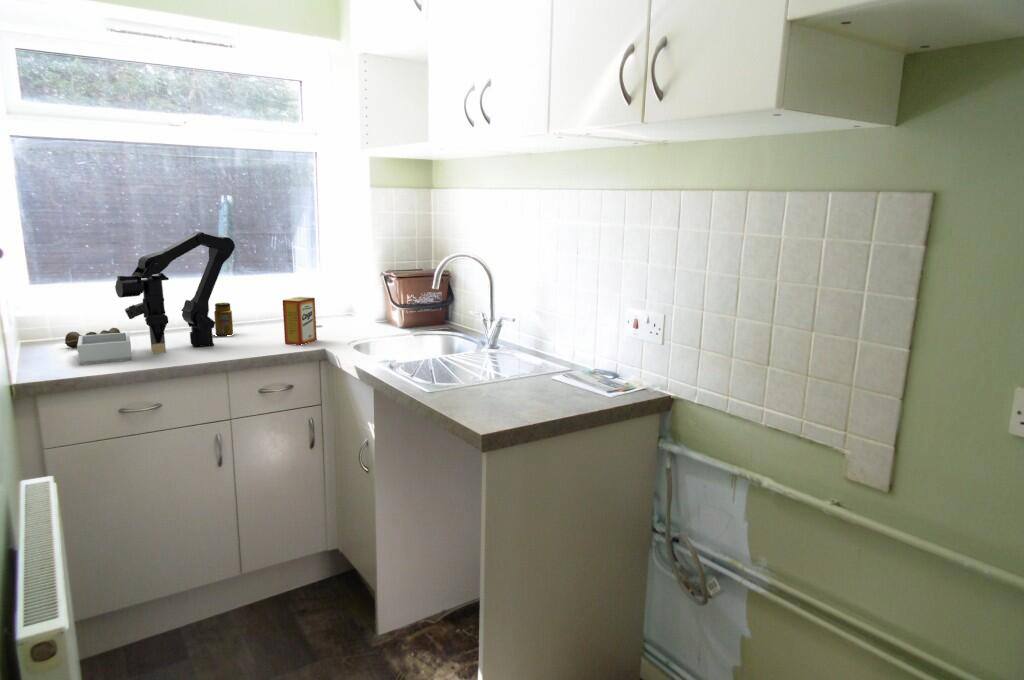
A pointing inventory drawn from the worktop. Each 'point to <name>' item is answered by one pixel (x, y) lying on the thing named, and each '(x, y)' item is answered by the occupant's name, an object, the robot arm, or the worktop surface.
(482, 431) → the worktop surface
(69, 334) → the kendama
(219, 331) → the condiment
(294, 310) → the baking soda box
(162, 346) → the block
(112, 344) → the walled box
